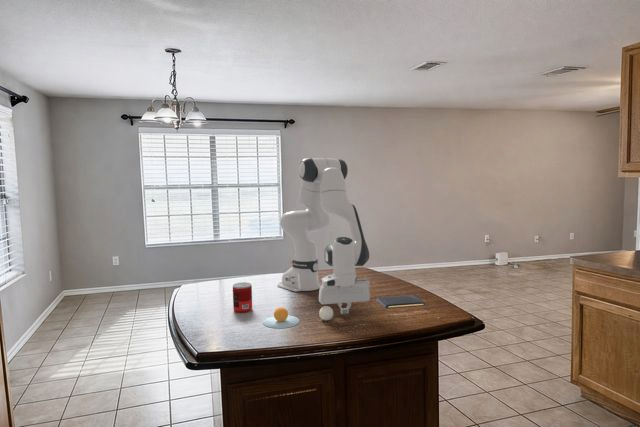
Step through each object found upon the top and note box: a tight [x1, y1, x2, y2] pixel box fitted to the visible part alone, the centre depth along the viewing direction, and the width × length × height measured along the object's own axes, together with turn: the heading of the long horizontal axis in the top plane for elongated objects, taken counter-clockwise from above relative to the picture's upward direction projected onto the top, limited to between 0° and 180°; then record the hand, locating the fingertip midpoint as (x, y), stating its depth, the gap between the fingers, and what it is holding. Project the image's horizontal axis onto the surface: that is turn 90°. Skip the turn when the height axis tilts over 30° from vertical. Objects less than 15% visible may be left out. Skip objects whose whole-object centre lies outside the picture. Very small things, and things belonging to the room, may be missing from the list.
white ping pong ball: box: [318, 305, 334, 321], centre depth 164 cm, size 6×6×6 cm
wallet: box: [375, 294, 429, 310], centre depth 186 cm, size 20×2×15 cm
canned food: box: [232, 281, 253, 314], centre depth 178 cm, size 8×8×11 cm
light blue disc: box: [262, 315, 300, 329], centre depth 163 cm, size 14×14×1 cm
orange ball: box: [273, 306, 289, 322], centre depth 163 cm, size 6×6×6 cm
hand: (344, 313), depth 167 cm, fingers closed
